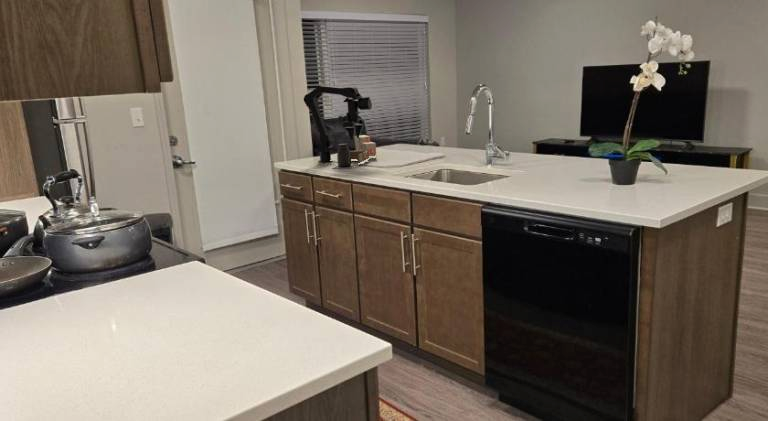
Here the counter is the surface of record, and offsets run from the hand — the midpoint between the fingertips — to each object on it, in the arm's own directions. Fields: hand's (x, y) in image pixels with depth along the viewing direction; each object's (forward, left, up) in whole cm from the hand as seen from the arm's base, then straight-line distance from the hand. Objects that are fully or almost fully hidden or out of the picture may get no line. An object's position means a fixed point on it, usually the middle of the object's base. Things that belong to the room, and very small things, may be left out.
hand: (354, 138), depth 320 cm
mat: (+10, -16, -13) cm, 23 cm away
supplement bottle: (+10, -15, -13) cm, 23 cm away
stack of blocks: (-9, +14, -13) cm, 21 cm away
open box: (+4, -5, -13) cm, 15 cm away
